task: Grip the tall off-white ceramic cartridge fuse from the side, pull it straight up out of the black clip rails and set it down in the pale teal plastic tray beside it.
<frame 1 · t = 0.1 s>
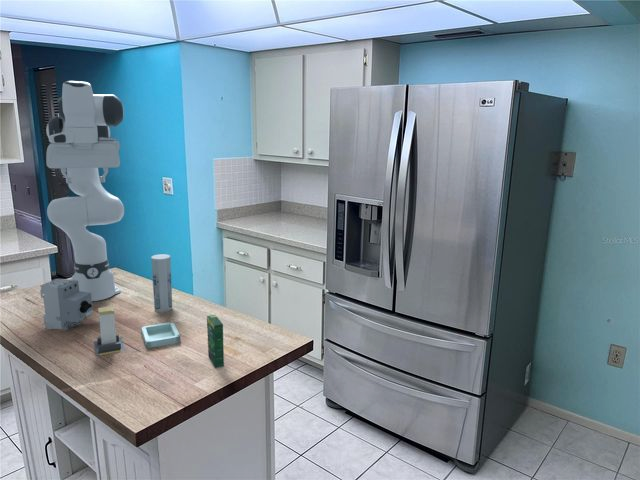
hand: (86, 182, 146), 48 cm above the countertop, tool pointing down, fingers open, 8 cm apart
fuse: (109, 346, 142), point 1 cm above the countertop, touching clip rails
tray: (160, 339, 149), on the countertop
spray can: (163, 309, 173), on the countertop
circuit breaker: (71, 327, 156), on the countertop
coffee box: (215, 361, 137), on the countertop
clip rails: (109, 347, 143), on the countertop
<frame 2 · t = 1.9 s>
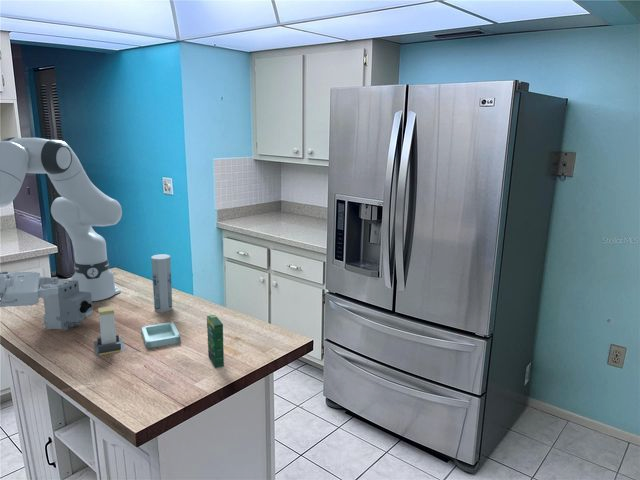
hand: (58, 285, 134), 21 cm above the countertop, tool horizontal, fingers open, 8 cm apart
nothing on the countertop moved.
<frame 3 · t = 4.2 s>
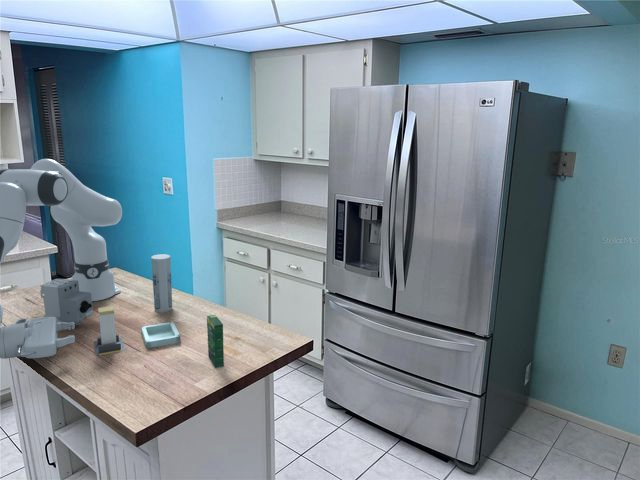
hand: (74, 331, 137), 7 cm above the countertop, tool horizontal, fingers open, 8 cm apart
nothing on the countertop moved.
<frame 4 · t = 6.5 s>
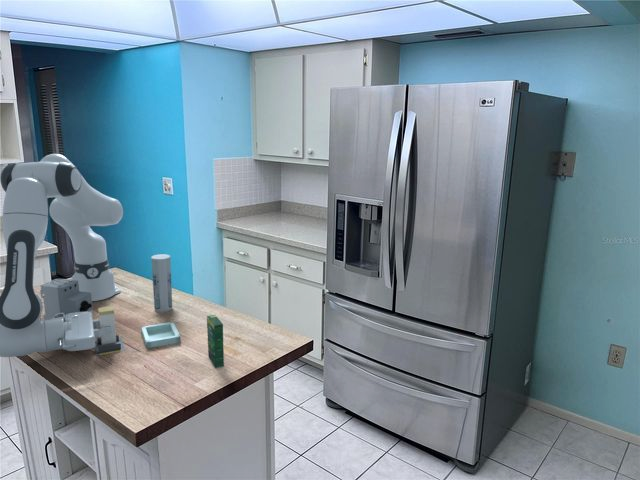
hand: (110, 325, 141), 7 cm above the countertop, tool horizontal, fingers closed on fuse, 3 cm apart
fuse: (109, 346, 142), point 1 cm above the countertop, touching clip rails, gripper
everything else where it was.
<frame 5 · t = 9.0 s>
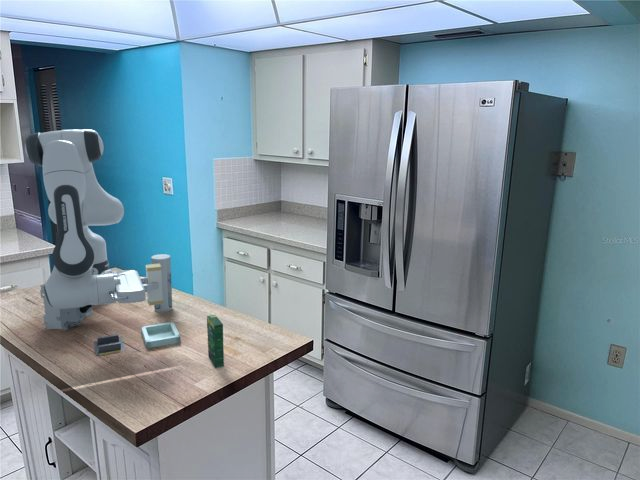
hand: (157, 282, 145), 19 cm above the countertop, tool horizontal, fingers closed on fuse, 3 cm apart
fuse: (155, 302, 146), point 12 cm above the countertop, touching gripper
everything else where it was.
when the fingers open (8 cm above the countertop, at t = 11.4 s): fuse drops 1 cm, resting on tray.
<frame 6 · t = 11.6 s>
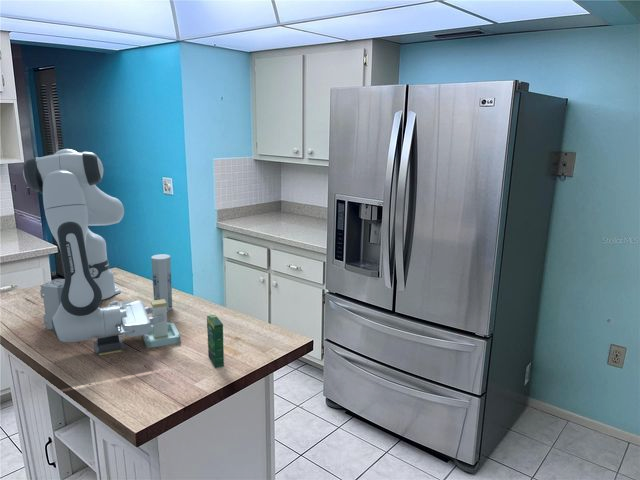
hand: (162, 313, 148), 8 cm above the countertop, tool horizontal, fingers open, 5 cm apart
fuse: (160, 337, 149), point 1 cm above the countertop, touching tray
everything else where it was.
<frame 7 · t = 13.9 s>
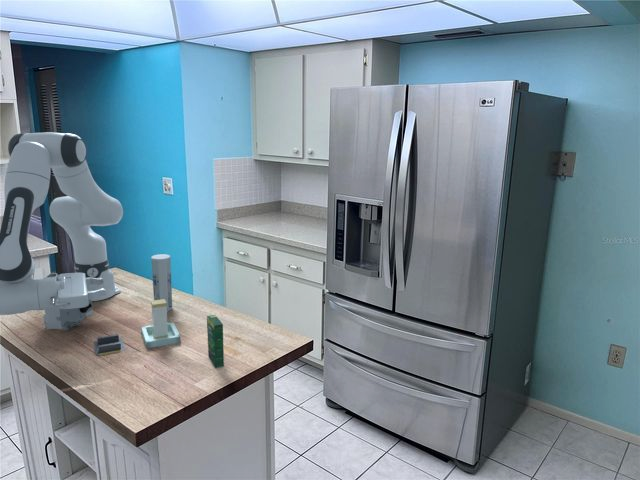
hand: (104, 286, 140), 19 cm above the countertop, tool horizontal, fingers open, 8 cm apart
nothing on the countertop moved.
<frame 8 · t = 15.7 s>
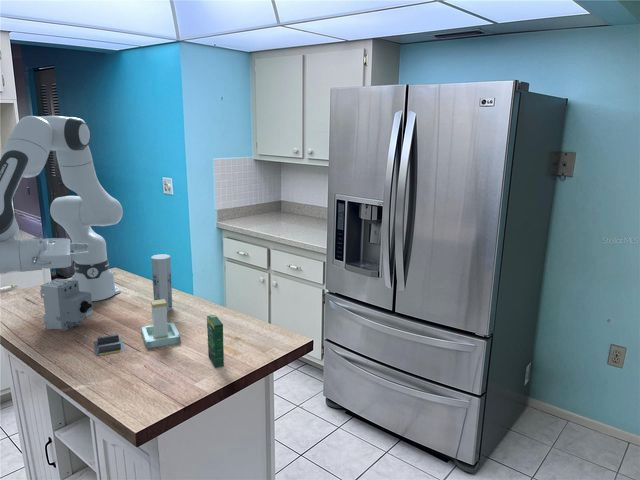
hand: (88, 250, 137), 30 cm above the countertop, tool horizontal, fingers open, 8 cm apart
nothing on the countertop moved.
at the end: fuse inside the target area on the tray (0.0 cm from its centre), point 0.6 cm above the tray's base; the gripper is holding nothing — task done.
